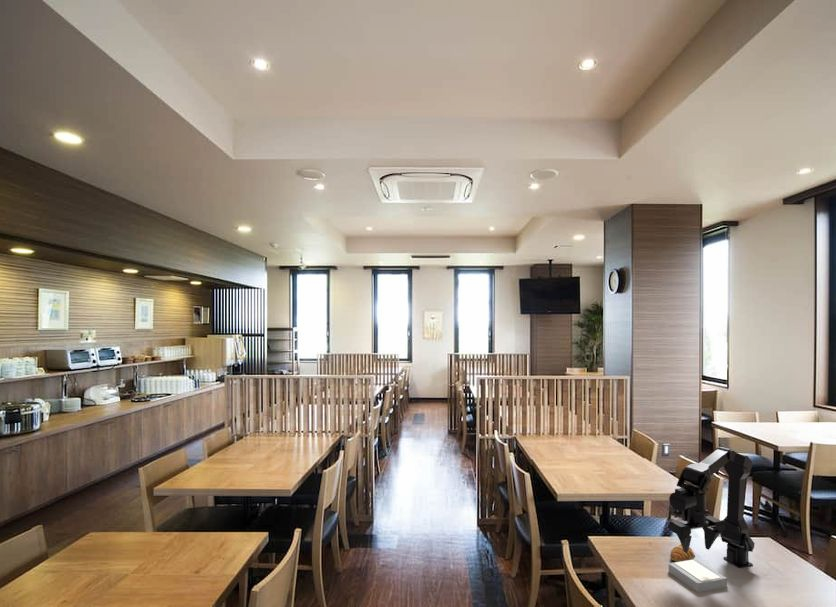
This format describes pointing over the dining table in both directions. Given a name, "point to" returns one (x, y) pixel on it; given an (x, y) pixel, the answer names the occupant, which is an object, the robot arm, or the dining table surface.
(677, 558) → the pastry
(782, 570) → the dining table surface
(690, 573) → the plinth
